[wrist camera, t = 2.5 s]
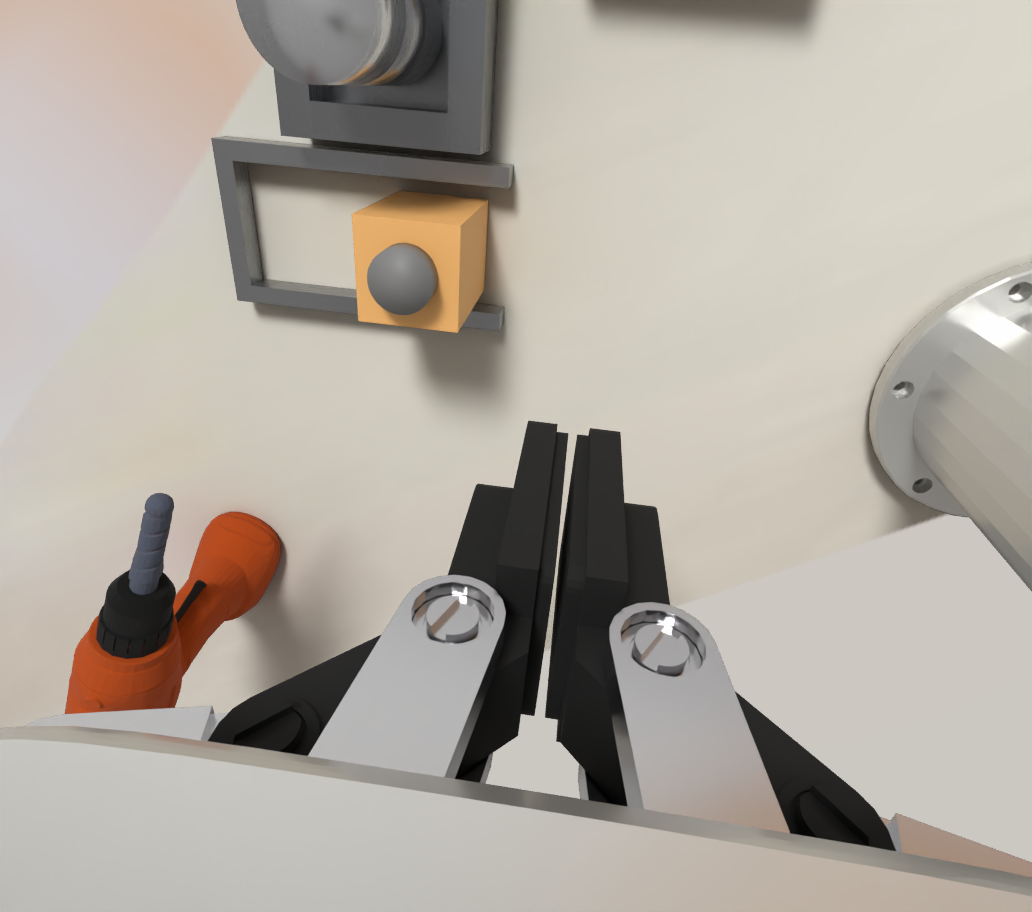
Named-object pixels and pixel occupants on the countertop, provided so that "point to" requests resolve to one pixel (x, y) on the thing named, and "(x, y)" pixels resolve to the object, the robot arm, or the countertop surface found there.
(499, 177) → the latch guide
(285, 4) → the silver metal cylinder
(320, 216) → the countertop surface
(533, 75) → the countertop surface
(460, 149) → the socket
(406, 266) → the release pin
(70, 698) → the toy drill
